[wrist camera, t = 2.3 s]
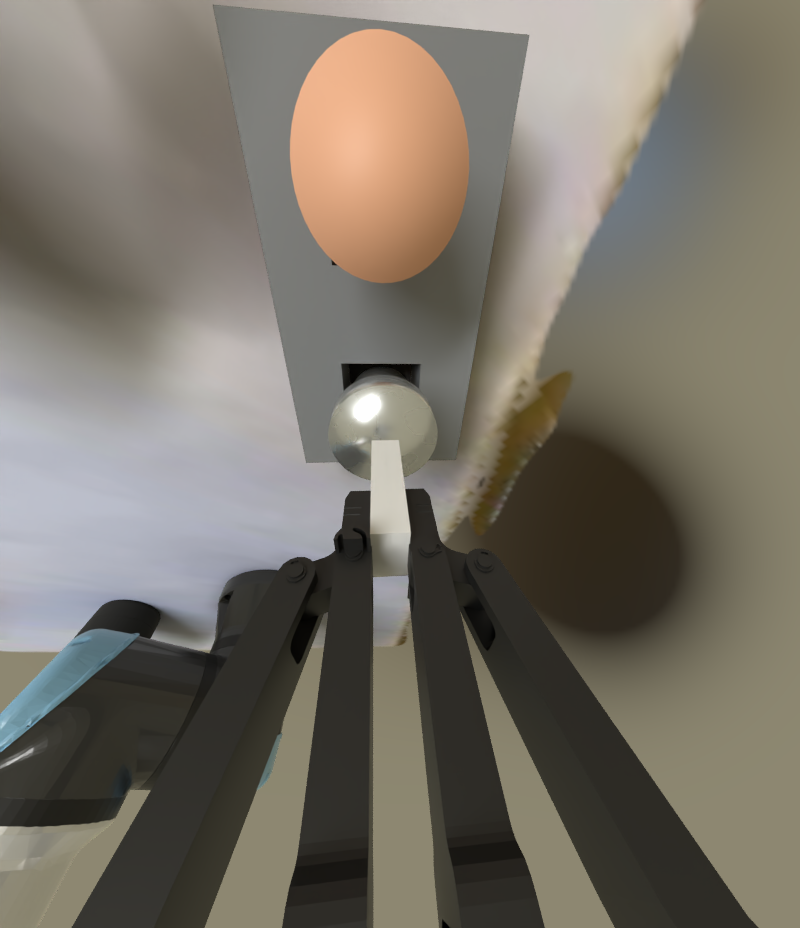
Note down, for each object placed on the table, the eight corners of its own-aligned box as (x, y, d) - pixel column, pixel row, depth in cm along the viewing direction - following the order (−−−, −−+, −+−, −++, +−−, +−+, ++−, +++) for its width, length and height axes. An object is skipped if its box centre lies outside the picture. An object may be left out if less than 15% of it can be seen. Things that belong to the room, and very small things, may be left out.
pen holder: (96, 593, 45) (35, 666, 37) (164, 602, 48) (122, 672, 40) (102, 621, 50) (49, 691, 42) (164, 628, 53) (126, 695, 45)
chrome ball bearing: (419, 432, 26) (432, 479, 21) (343, 433, 26) (334, 482, 20) (426, 353, 22) (443, 386, 17) (335, 352, 22) (321, 386, 16)
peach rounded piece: (431, 276, 19) (455, 285, 14) (327, 274, 19) (306, 281, 13) (444, 120, 15) (485, 38, 10) (310, 110, 15) (270, 18, 9)
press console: (443, 429, 32) (455, 459, 27) (316, 430, 31) (306, 462, 26) (487, 94, 18) (529, 34, 13) (258, 76, 17) (212, 4, 12)
